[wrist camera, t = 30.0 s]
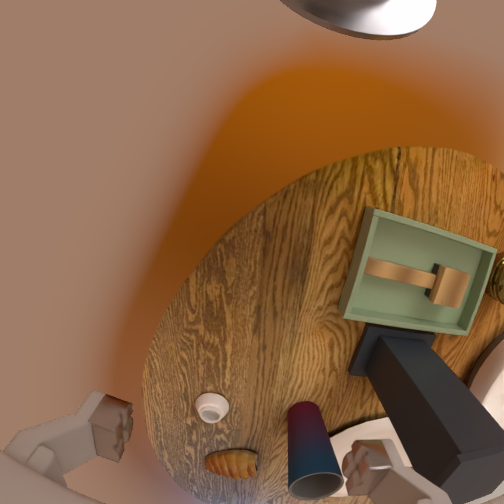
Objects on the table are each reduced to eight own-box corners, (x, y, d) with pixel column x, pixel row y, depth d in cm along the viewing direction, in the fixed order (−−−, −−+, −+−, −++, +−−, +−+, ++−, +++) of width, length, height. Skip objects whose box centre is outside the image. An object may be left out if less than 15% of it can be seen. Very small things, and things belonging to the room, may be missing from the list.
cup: (278, 426, 44) (283, 500, 29) (285, 396, 42) (294, 473, 28) (319, 428, 44) (335, 499, 29) (329, 397, 43) (351, 470, 28)
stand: (366, 322, 40) (461, 462, 14) (432, 332, 40) (536, 439, 15) (347, 370, 41) (408, 518, 16) (412, 376, 42) (491, 493, 16)
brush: (354, 280, 38) (362, 288, 35) (366, 242, 37) (374, 247, 34) (448, 301, 38) (458, 308, 35) (459, 268, 37) (470, 274, 34)
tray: (365, 206, 36) (374, 208, 33) (485, 244, 37) (497, 249, 34) (337, 308, 39) (342, 318, 36) (457, 328, 40) (467, 336, 37)
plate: (272, 464, 46) (272, 471, 45) (391, 388, 42) (394, 394, 41) (344, 502, 50) (345, 507, 48) (440, 442, 46) (443, 447, 44)
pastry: (209, 469, 47) (207, 484, 43) (201, 447, 46) (198, 462, 42) (260, 467, 47) (260, 483, 43) (256, 445, 45) (256, 461, 41)
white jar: (191, 406, 43) (219, 419, 44) (187, 418, 40) (217, 431, 41) (205, 386, 42) (235, 400, 43) (202, 398, 39) (233, 412, 40)
